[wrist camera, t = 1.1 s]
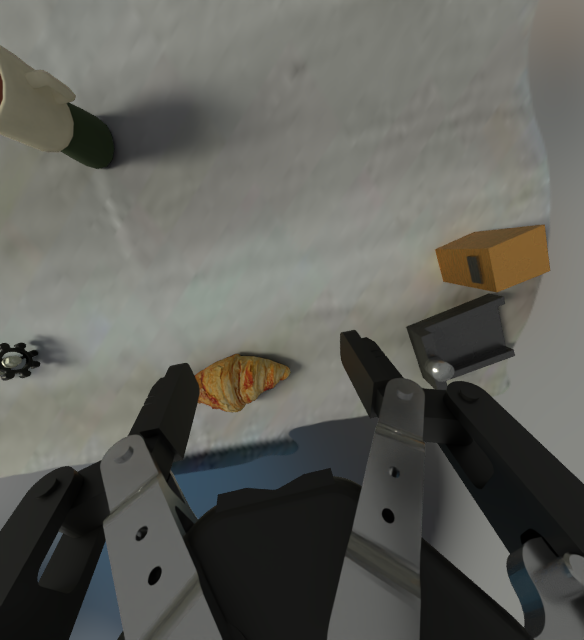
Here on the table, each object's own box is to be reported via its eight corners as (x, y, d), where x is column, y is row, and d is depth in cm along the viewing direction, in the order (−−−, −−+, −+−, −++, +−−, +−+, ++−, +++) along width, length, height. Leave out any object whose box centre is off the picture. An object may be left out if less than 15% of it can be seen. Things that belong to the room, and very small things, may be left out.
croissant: (286, 344, 44) (280, 341, 36) (298, 396, 42) (294, 405, 34) (185, 368, 45) (158, 369, 37) (192, 419, 43) (164, 433, 35)
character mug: (120, 103, 30) (-5, -4, 17) (142, 163, 32) (43, 107, 19) (47, 124, 30) (-123, 36, 18) (73, 181, 32) (-64, 139, 20)
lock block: (473, 232, 34) (544, 224, 24) (481, 265, 35) (550, 270, 26) (433, 250, 35) (486, 249, 25) (441, 282, 36) (494, 293, 27)
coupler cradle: (489, 293, 37) (533, 303, 30) (500, 349, 39) (543, 369, 33) (401, 328, 39) (424, 345, 32) (418, 379, 41) (442, 404, 35)
